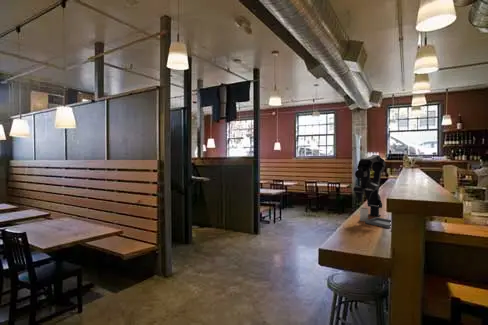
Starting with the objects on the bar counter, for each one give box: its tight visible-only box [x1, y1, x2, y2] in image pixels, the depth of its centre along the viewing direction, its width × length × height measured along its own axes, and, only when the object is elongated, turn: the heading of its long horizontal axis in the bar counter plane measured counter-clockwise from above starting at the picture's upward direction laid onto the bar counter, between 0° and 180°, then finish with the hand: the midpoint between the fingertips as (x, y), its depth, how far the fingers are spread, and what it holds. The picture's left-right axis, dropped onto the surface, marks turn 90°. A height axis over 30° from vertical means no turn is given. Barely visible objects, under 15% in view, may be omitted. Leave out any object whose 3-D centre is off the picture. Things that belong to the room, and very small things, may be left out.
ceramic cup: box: [359, 207, 369, 222], centre depth 207 cm, size 5×5×8 cm
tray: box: [364, 216, 392, 229], centre depth 197 cm, size 15×15×2 cm
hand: (364, 201), depth 206 cm, fingers open, 9 cm apart
